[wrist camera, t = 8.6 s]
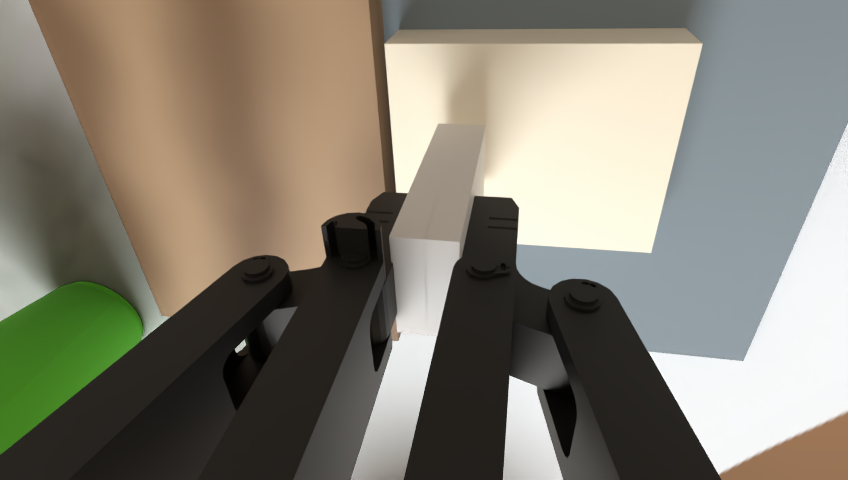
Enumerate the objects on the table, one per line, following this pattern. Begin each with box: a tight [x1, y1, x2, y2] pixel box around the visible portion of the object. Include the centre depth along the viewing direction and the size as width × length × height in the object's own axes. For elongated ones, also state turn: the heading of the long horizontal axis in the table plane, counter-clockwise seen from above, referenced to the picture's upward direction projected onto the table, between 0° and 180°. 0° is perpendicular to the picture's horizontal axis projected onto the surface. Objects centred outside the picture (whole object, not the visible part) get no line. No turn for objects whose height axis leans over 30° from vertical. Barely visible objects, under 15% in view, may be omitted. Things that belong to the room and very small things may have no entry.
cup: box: [0, 281, 143, 455], centre depth 25 cm, size 9×9×11 cm
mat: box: [381, 0, 848, 361], centre depth 18 cm, size 15×20×1 cm
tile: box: [384, 28, 703, 253], centre depth 18 cm, size 9×7×2 cm
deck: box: [29, 0, 401, 341], centre depth 20 cm, size 12×19×2 cm, turn 2°
